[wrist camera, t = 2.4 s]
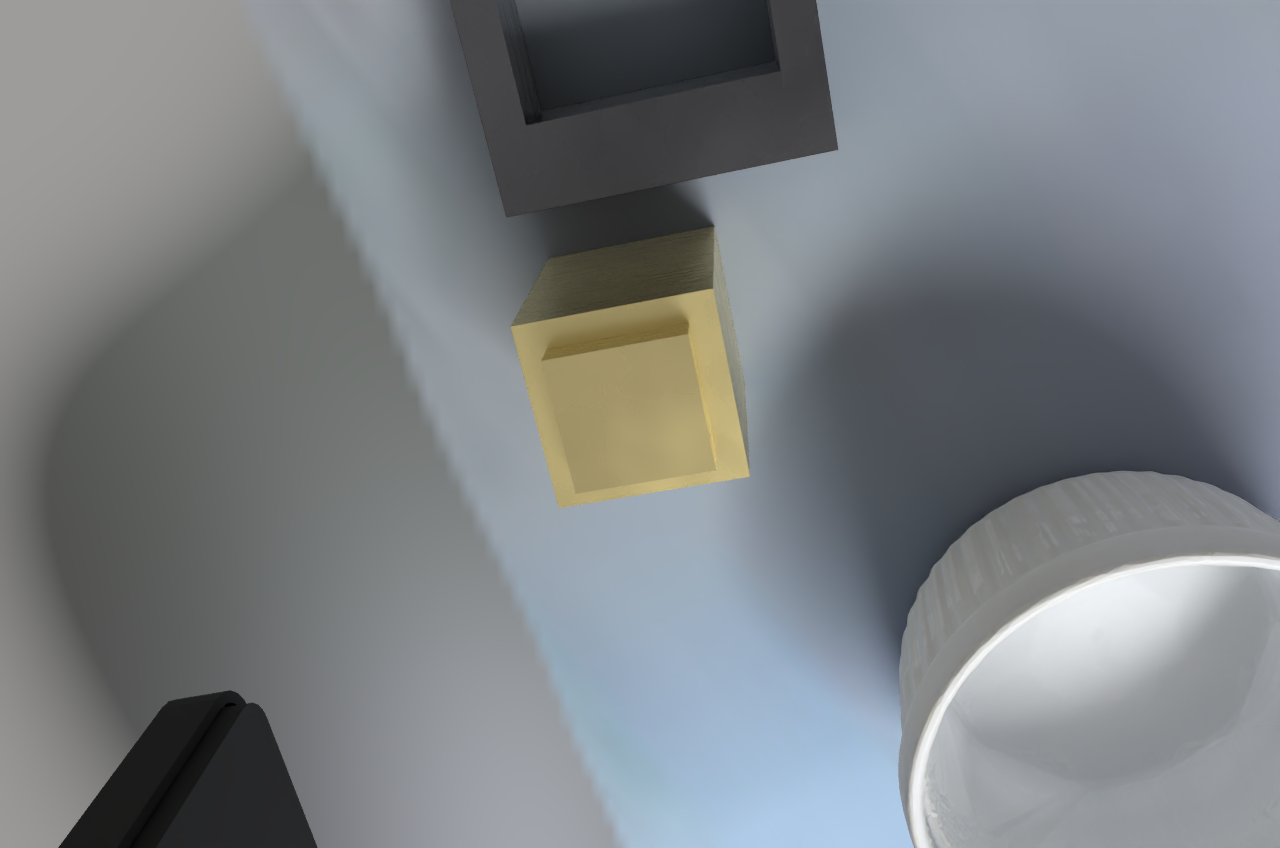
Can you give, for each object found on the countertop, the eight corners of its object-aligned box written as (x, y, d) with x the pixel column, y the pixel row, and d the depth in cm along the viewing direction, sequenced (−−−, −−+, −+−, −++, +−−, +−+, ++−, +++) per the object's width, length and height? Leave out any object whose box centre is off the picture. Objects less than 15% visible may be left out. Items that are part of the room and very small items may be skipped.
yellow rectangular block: (548, 258, 31) (503, 338, 24) (714, 225, 30) (712, 298, 24) (586, 412, 32) (554, 523, 26) (744, 384, 32) (750, 491, 25)
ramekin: (1432, 563, 33) (1608, 714, 26) (1140, 873, 37) (1228, 1064, 31) (1040, 346, 31) (1126, 451, 24) (787, 700, 36) (802, 865, 29)
